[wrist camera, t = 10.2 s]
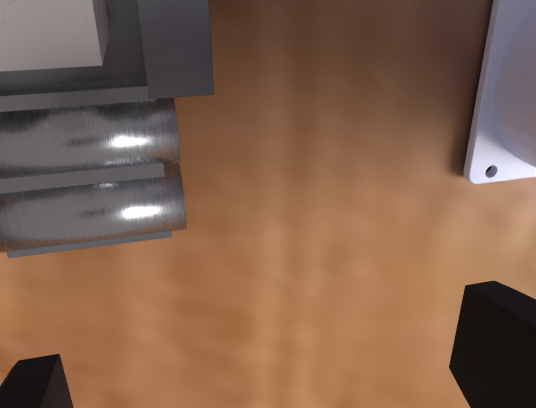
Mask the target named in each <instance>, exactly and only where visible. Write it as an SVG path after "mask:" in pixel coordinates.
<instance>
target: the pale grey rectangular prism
mask: <svg viewBox="0 0 536 408" xmlns="http://www.w3.org/2000/svg"><path fill="white" fill-rule="evenodd" d="M110 27H111V21H110V14H109V7H108V0H0V72H1V71H18V70H35V69H52V68H69V67H86V66H102V64H103V60H104V55H105V50H106V46H107V41H108V36H109V32H110Z"/></svg>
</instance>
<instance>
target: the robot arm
mask: <svg viewBox="0 0 536 408" xmlns="http://www.w3.org/2000/svg"><path fill="white" fill-rule="evenodd" d="M489 166H491V169H490V171H489V172H488V173H485V172H486V170H487V168H488V167H489ZM464 177H465V179H467V180H468V181H470V182H471V183H473V184H482V183H490V182H498V181H506V180H515V179H523V178H531V177H536V0H493V6H492V12H491V17H490V23H489V29H488V34H487V40H486V46H485V51H484V57H483V63H482V69H481V74H480V80H479V86H478V91H477V97H476V103H475V109H474V114H473V120H472V126H471V131H470V137H469V143H468V148H467V154H466V160H465V166H464ZM449 368H450V370H451V372H452V374H453V376H454V378H455V380H456V382H457V384H458V386H459V387H460V389H461V391H462V393H463V395H464V397H465V399H466V400H467V402H468V404H469V406H470V407H471V408H536V299H534V298H532V297H529V296H527V295H525V294H523V293H521V292H519V291H517V290H515V289H512V288H510V287H508V286H506V285H503V284H501V283H499V282H496V281H489V282H483V283H477V284H471V285H465V290H464V295H463V300H462V305H461V310H460V315H459V320H458V325H457V330H456V335H455V340H454V345H453V350H452V355H451V360H450V365H449ZM0 408H73V404H72V400H71V396H70V392H69V388H68V385H67V381H66V377H65V373H64V369H63V365H62V361H61V358H60V354H55V355H49V356H43V357H37V358H31V359H25V360H19V361H18V362H17V363H16V364H15V365H14V366H13V367H12V369H11V371H10V372H9V374H8V375H7V377H6V378H5V380H4V381H3V383H2V384H1V386H0Z"/></svg>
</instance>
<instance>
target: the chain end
mask: <svg viewBox="0 0 536 408" xmlns="http://www.w3.org/2000/svg"><path fill="white" fill-rule="evenodd" d="M108 7H109V14H110V21H111V27H110V32H109V36H108V41H107V46H106V50H105V55H104V60H103V64H102V66H86V67H69V68H52V69H35V70H18V71H1V72H0V253H3V252H7V255H8V258H13V257H21V256H28V255H36V254H44V253H52V252H59V251H67V250H75V249H83V248H90V247H98V246H106V245H113V244H121V243H129V242H137V241H144V240H152V239H160V238H168V237H172V235H171V231H177V230H185V229H187V222H186V210H185V201H184V192H183V184H182V177H181V171H180V166H179V163H172V162H180V149H179V137H178V128H177V119H176V111H175V104H174V98H173V97H186V96H199V95H213V94H214V86H213V69H212V53H211V36H210V19H209V3H208V0H108ZM163 163H170V164H163Z"/></svg>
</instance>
